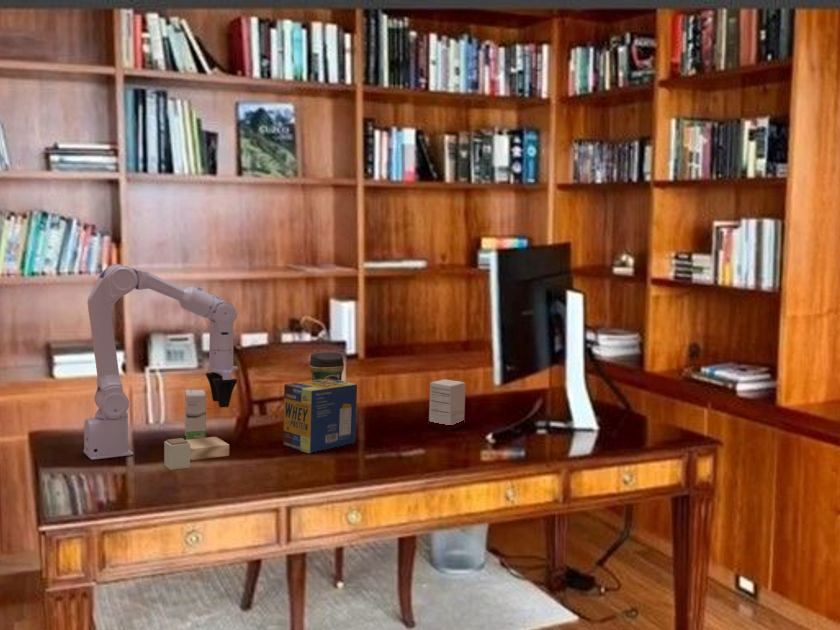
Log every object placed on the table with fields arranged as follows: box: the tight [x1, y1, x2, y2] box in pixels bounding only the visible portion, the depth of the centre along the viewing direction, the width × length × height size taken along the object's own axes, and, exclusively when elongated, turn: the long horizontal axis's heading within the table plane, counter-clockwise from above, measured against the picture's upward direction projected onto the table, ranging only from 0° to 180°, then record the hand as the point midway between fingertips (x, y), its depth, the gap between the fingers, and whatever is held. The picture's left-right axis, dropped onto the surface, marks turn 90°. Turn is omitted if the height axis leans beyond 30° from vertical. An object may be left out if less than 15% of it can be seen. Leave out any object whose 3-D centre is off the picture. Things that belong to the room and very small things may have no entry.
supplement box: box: [428, 378, 466, 425], centre depth 239 cm, size 7×7×13 cm
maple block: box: [185, 436, 230, 461], centre depth 204 cm, size 9×9×3 cm
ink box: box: [184, 389, 207, 440], centre depth 218 cm, size 9×5×12 cm, turn 18°
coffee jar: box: [309, 351, 345, 381], centre depth 247 cm, size 10×8×19 cm
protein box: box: [283, 378, 358, 454], centre depth 215 cm, size 10×15×16 cm
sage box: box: [163, 437, 191, 471], centre depth 192 cm, size 4×4×6 cm
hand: (220, 404), depth 213 cm, fingers open, 7 cm apart
